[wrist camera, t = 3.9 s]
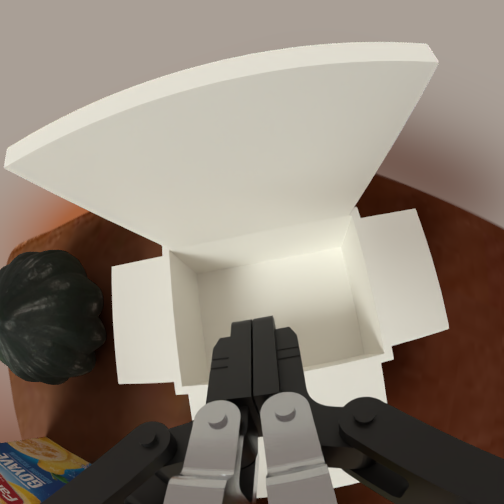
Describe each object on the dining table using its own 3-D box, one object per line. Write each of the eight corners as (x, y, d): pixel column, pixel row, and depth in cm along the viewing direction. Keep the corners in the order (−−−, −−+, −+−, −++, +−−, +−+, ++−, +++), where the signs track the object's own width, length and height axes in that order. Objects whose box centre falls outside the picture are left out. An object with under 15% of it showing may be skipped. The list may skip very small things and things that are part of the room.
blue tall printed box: (45, 436, 28) (-93, 445, 8) (110, 473, 26) (-39, 525, 5) (44, 475, 26) (-80, 498, 6) (107, 513, 24) (-19, 575, 3)
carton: (388, 233, 31) (411, 197, 23) (426, 428, 24) (462, 446, 16) (150, 278, 33) (111, 255, 26) (174, 468, 26) (139, 494, 18)
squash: (5, 258, 31) (-62, 312, 17) (89, 214, 31) (21, 264, 17) (55, 346, 36) (14, 420, 22) (140, 319, 36) (114, 407, 22)
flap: (345, 204, 23) (425, 41, 7) (348, 215, 23) (439, 62, 6) (170, 238, 24) (7, 145, 8) (171, 249, 24) (3, 168, 8)
